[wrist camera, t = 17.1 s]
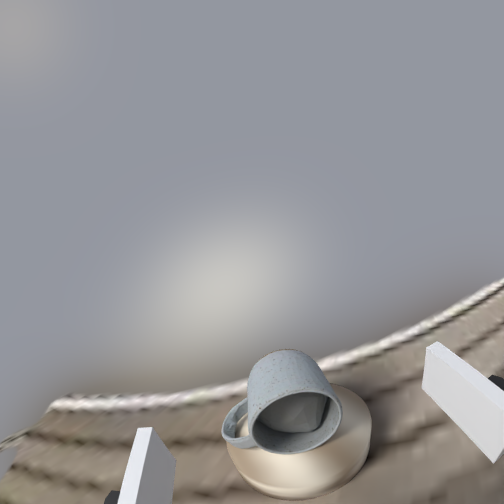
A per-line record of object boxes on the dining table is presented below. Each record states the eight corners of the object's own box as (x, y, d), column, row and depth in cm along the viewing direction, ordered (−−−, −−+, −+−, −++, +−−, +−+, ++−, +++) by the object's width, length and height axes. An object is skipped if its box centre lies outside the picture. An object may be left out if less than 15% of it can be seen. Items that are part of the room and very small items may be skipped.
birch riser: (310, 390, 33) (306, 367, 32) (396, 437, 20) (400, 414, 20) (215, 444, 26) (204, 423, 25) (287, 526, 14) (279, 513, 13)
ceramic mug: (320, 388, 27) (310, 330, 26) (345, 439, 19) (341, 379, 18) (225, 412, 27) (202, 358, 25) (227, 469, 19) (196, 415, 17)
